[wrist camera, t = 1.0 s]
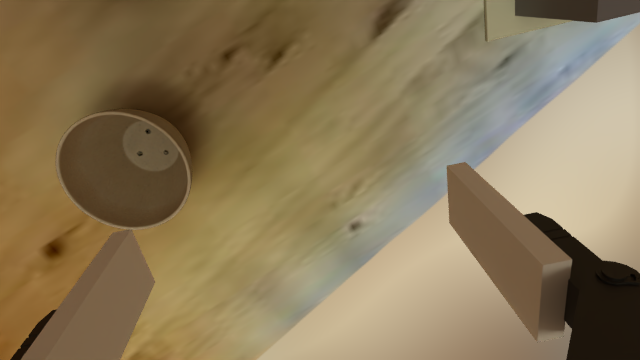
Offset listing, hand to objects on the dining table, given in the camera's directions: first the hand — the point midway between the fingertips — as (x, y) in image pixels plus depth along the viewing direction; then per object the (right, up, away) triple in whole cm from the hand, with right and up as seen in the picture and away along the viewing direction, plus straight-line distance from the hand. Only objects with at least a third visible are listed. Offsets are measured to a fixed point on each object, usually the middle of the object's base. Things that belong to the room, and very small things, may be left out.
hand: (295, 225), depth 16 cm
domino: (+20, +18, +18) cm, 32 cm away
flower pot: (-15, +5, +21) cm, 26 cm away
